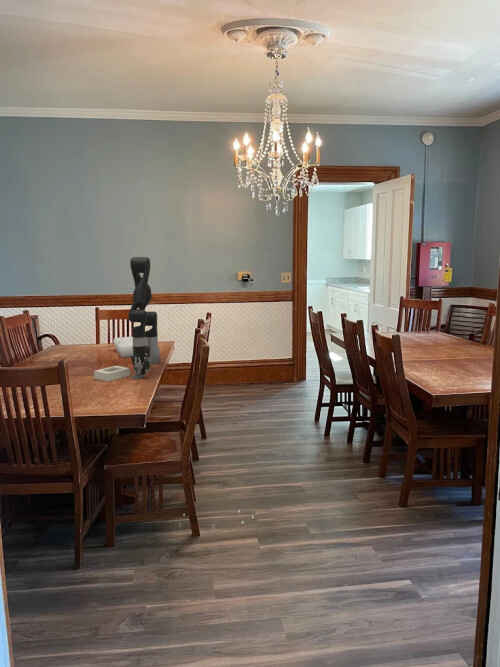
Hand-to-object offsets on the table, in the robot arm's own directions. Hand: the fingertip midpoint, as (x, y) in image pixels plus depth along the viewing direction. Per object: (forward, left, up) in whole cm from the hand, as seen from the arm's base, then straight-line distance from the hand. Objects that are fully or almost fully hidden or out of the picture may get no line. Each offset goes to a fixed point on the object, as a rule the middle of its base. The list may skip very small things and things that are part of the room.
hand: (140, 373), depth 294 cm
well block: (+10, -13, -2) cm, 16 cm away
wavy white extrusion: (-39, -61, -2) cm, 72 cm away
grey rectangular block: (+2, 0, -2) cm, 3 cm away
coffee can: (-12, -13, -2) cm, 18 cm away
